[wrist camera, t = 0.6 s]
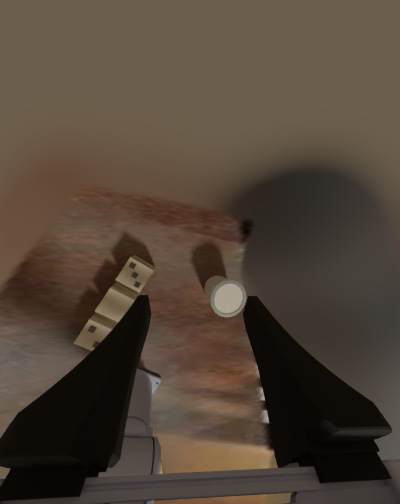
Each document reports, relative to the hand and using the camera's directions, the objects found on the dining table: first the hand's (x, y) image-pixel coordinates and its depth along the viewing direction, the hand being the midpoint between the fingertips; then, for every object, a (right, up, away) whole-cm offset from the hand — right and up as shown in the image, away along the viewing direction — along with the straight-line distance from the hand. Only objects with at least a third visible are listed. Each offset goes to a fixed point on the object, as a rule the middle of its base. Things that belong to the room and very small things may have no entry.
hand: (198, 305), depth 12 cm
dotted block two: (-18, -10, +19) cm, 29 cm away
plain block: (-15, -5, +20) cm, 25 cm away
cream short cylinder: (+4, -4, +24) cm, 25 cm away
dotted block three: (-12, 0, +20) cm, 24 cm away
